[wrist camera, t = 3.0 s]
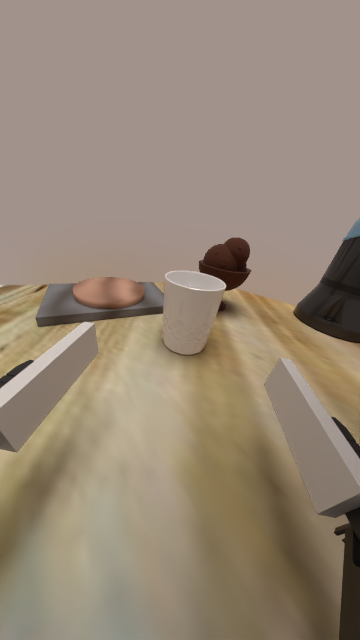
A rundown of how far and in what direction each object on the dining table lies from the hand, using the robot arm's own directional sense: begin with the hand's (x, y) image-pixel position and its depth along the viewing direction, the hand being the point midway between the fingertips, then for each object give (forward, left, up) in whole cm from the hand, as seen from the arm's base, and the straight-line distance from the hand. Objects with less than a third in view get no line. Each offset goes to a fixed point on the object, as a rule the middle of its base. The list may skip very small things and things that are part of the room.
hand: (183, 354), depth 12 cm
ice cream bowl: (-6, -28, -8) cm, 30 cm away
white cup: (0, -12, -8) cm, 14 cm away
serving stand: (+16, -21, -8) cm, 27 cm away
